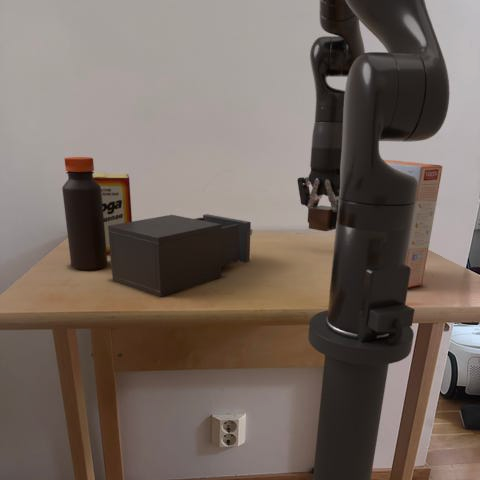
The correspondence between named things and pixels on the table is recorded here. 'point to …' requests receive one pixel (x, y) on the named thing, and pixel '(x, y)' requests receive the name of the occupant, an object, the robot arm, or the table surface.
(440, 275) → the table surface
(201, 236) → the cabinet
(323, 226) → the block
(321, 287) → the table surface
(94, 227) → the bottle
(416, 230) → the cracker box
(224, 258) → the drawer
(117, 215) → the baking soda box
